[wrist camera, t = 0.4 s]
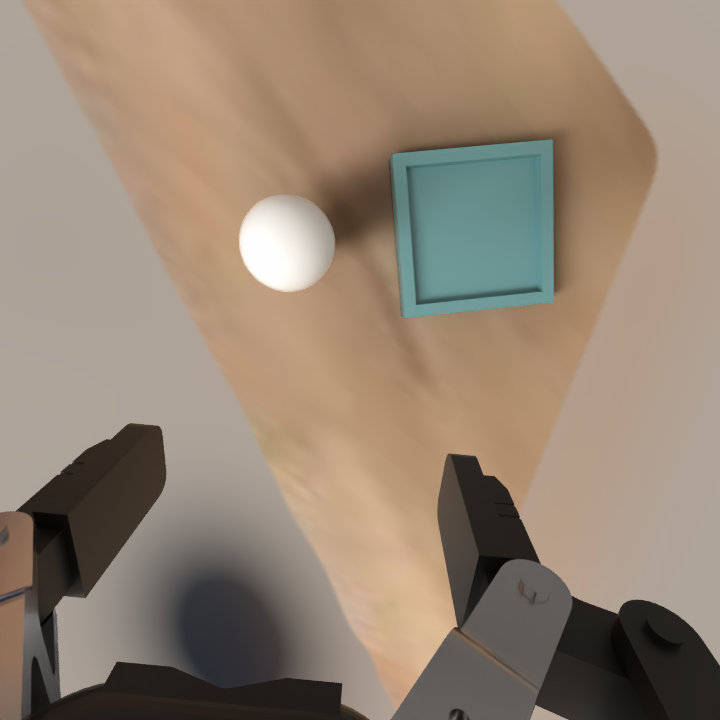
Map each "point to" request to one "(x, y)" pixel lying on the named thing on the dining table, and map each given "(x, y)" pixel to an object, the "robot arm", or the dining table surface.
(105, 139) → the dining table surface
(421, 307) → the tray
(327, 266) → the lightbulb
